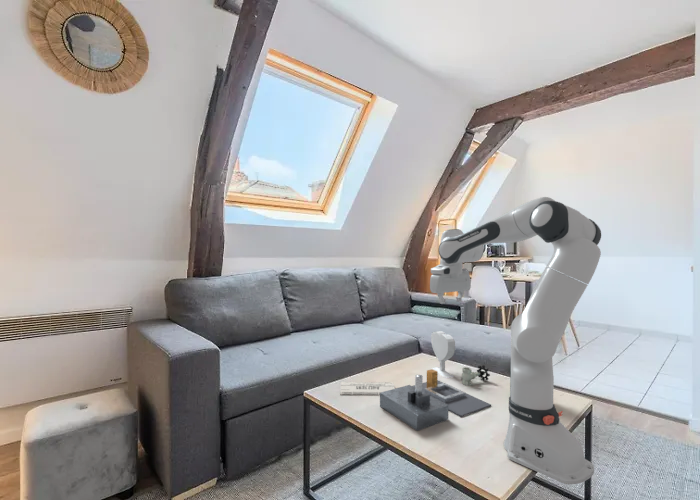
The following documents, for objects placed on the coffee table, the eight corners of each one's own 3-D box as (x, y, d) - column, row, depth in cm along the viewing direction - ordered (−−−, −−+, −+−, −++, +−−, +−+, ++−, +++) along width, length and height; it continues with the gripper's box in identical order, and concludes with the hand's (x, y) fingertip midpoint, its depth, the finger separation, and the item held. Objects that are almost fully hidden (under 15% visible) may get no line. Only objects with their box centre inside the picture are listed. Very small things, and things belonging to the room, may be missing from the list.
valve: (468, 387, 150) (489, 382, 155) (468, 371, 150) (490, 367, 155) (457, 382, 156) (478, 377, 161) (457, 366, 156) (478, 362, 161)
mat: (491, 406, 133) (491, 404, 133) (460, 417, 125) (460, 415, 125) (435, 380, 157) (435, 379, 157) (407, 388, 148) (407, 387, 148)
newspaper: (392, 384, 154) (392, 379, 154) (395, 400, 142) (396, 394, 142) (339, 383, 154) (339, 378, 154) (338, 399, 142) (338, 393, 142)
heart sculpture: (456, 377, 160) (456, 337, 160) (446, 379, 159) (446, 338, 159) (438, 366, 175) (439, 329, 175) (429, 367, 174) (429, 329, 174)
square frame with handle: (465, 396, 140) (465, 378, 140) (445, 402, 134) (445, 384, 134) (439, 384, 152) (439, 367, 152) (419, 389, 146) (419, 372, 146)
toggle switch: (448, 419, 123) (448, 378, 122) (417, 430, 116) (417, 387, 115) (409, 397, 140) (409, 361, 140) (379, 406, 133) (380, 368, 132)
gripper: (462, 267, 157) (462, 299, 157) (427, 269, 146) (427, 303, 147) (474, 268, 151) (474, 301, 152) (438, 270, 141) (438, 306, 141)
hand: (450, 302), depth 149 cm, fingers open, 8 cm apart
